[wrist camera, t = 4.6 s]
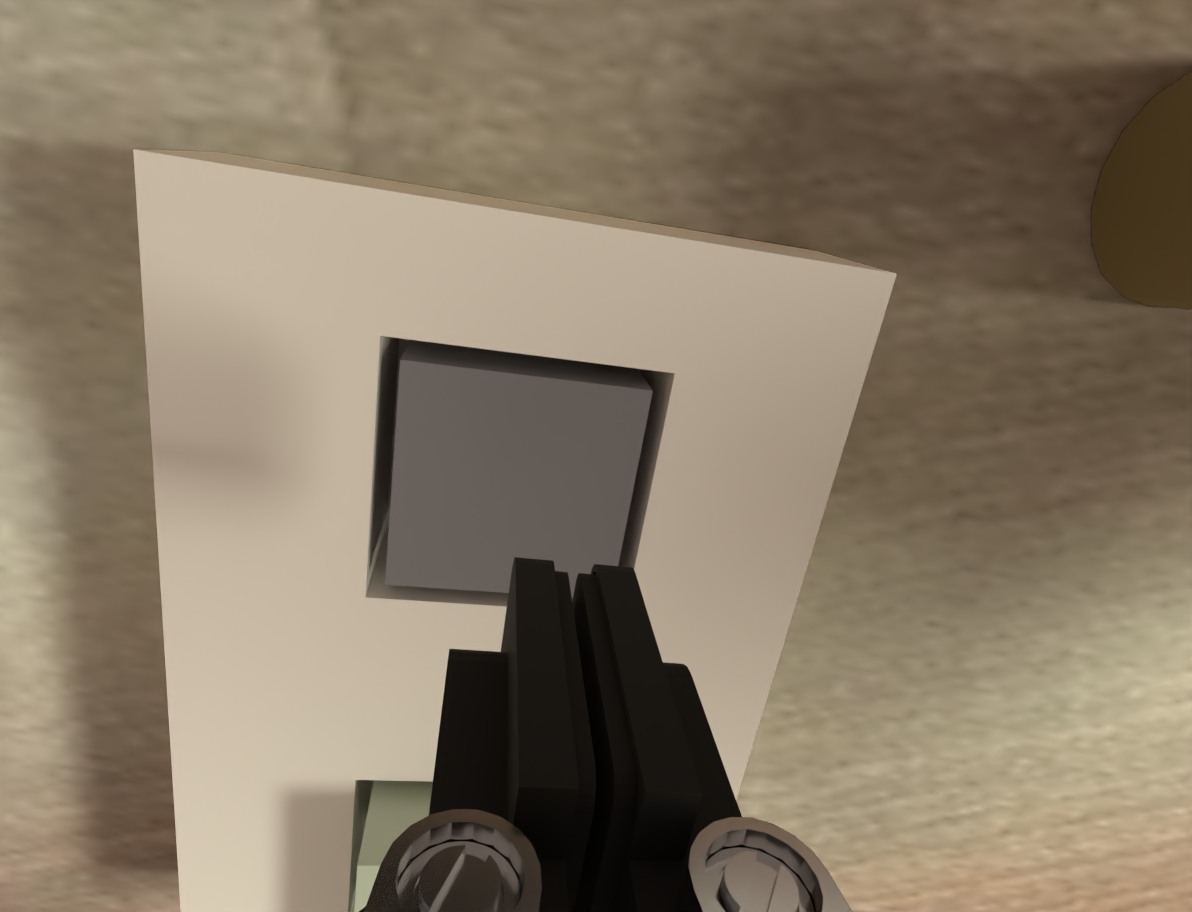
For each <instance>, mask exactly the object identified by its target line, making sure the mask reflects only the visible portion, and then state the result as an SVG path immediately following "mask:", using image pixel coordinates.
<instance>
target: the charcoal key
mask: <svg viewBox="0 0 1192 912" xmlns="http://www.w3.org/2000/svg"><path fill="white" fill-rule="evenodd" d="M652 393H653V390H652V389H651V387H650V386H649V384H648V383H647V381H646V380H645V379H644V377H643V376H642V374H641V373H640V371H639V370H638V369H637V368H629V367H621V366H613V365H606V364H598V363H590V362H582V361H574V360H566V359H559V358H551V357H543V356H535V355H527V354H519V353H512V352H504V351H496V350H488V349H480V348H472V347H465V346H457V345H449V344H441V343H433V342H425V341H418V340H409V342H408V344H407V346H406V348H405V350H404V352H403V355H402V357H401V359H400V367H399V382H398V397H397V412H396V427H395V442H394V457H393V472H392V488H391V503H390V518H389V533H388V548H387V563H386V578H385V585H397V586H411V587H426V588H441V589H455V590H470V591H485V592H499V593H509V587H510V580H511V573H512V566H513V561H514V557H518V558H530V559H541V560H553V561H554V566H555V571H561V572H568V576H569V583H570V590H571V597H573V595H574V590H575V584H576V579H577V576H578V574H579V573H585V574H591V570H592V567H593V565H594V564H599V565H611V566H618V564H619V559H620V554H621V549H622V544H623V539H624V534H625V529H626V524H627V519H628V514H629V509H630V504H631V499H632V494H633V489H634V484H635V479H636V474H637V468H638V463H639V458H640V453H641V448H642V443H643V438H644V433H645V428H646V423H647V418H648V413H649V408H650V403H651V398H652Z"/></svg>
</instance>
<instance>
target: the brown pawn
mask: <svg viewBox="0 0 1192 912" xmlns="http://www.w3.org/2000/svg"><path fill="white" fill-rule="evenodd" d="M1091 225H1092V247H1093V250H1094V253H1095V256H1096V258H1097V261H1098V264H1099V267H1100V269H1101V272H1102V275H1103V276H1104V277H1105V278H1106V279H1107V280H1108V281H1109V282H1110V283H1111V285H1112V286H1113V287H1114V288H1115V289H1116V290H1117V291H1118V292H1119V293H1120V294H1121V295H1122V296H1124V297H1126V298H1129V299H1131V300H1134V301H1136V302H1138V303H1141V304H1143V305H1146V306H1150V307H1165V308H1180V309H1192V72H1191V73H1188V74H1186V75H1185V76H1183V77H1182V78H1180V79H1179V80H1177V81H1176V82H1174V83H1173V84H1171V85H1170V86H1169V87H1167V88H1166V89H1164V90H1163V91H1161V92H1160V93H1158V94H1157V95H1156V96H1154V97H1153V98H1152V99H1151V100H1150V101H1149V102H1148V103H1147V104H1146V105H1145V106H1144V108H1143V109H1142V110H1141V111H1140V112H1139V113H1138V114H1137V116H1136V117H1135V118H1134V119H1133V120H1132V121H1131V122H1130V123H1129V125H1128V126H1127V127H1126V128H1125V129H1124V130H1123V131H1122V133H1121V135H1120V137H1119V139H1118V141H1117V143H1116V144H1115V146H1114V148H1113V150H1112V152H1111V154H1110V155H1109V157H1108V159H1107V161H1106V163H1105V165H1104V166H1103V168H1102V171H1101V174H1100V178H1099V182H1098V186H1097V189H1096V193H1095V197H1094V201H1093V204H1092V208H1091Z"/></svg>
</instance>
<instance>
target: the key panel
mask: <svg viewBox="0 0 1192 912" xmlns="http://www.w3.org/2000/svg"><path fill="white" fill-rule="evenodd" d="M133 154H134V170H135V186H136V202H137V218H138V234H139V251H140V267H141V283H142V299H143V315H144V331H145V347H146V363H147V379H148V395H149V411H150V427H151V443H152V459H153V475H154V491H155V507H156V523H157V539H158V555H159V571H160V587H161V603H162V619H163V635H164V651H165V667H166V683H167V700H168V716H169V732H170V748H171V764H172V780H173V796H174V812H175V828H176V844H177V860H178V876H179V892H180V908H181V912H354V911H355V895H356V878H357V864H358V859H359V854H360V849H361V844H362V839H363V834H364V829H365V823H366V818H367V813H368V808H369V803H370V798H371V793H372V788H373V782H374V780H384V781H431V782H433V776H434V768H435V760H436V752H437V744H438V736H439V728H440V720H441V712H442V703H443V695H444V687H445V679H446V671H447V663H448V655H449V649H463V650H478V651H494V652H501V645H502V638H503V631H504V623H505V616H506V609H507V602H508V594H509V593H499V592H485V591H470V590H455V589H441V588H426V587H411V586H397V585H385V578H386V563H387V548H388V533H389V518H390V503H391V488H392V472H393V457H394V442H395V427H396V412H397V397H398V382H399V367H400V359H401V357H402V355H403V352H404V350H405V348H406V346H407V344H408V342H409V340H418V341H425V342H433V343H441V344H449V345H457V346H465V347H472V348H480V349H488V350H496V351H504V352H512V353H519V354H527V355H535V356H543V357H551V358H559V359H566V360H574V361H582V362H590V363H598V364H606V365H613V366H621V367H629V368H637V369H638V370H639V371H640V373H641V374H642V376H643V377H644V379H645V380H646V381H647V383H648V384H649V386H650V387H651V389H652V390H653V393H652V398H651V403H650V408H649V413H648V418H647V423H646V428H645V433H644V438H643V443H642V448H641V453H640V458H639V463H638V468H637V474H636V479H635V484H634V489H633V494H632V499H631V504H630V509H629V514H628V519H627V524H626V529H625V534H624V539H623V544H622V549H621V554H620V559H619V564H618V566H623V567H632V568H633V569H634V571H635V573H636V577H637V580H638V583H639V586H640V590H641V593H642V596H643V599H644V603H645V606H646V609H647V612H648V616H649V619H650V622H651V626H652V629H653V632H654V635H655V639H656V642H657V645H658V648H659V652H660V655H661V658H662V662H664V663H679V664H684V665H686V666H687V667H688V669H689V671H690V673H691V675H692V678H693V681H694V683H695V686H696V689H697V692H698V695H699V697H700V700H701V703H702V706H703V709H704V712H705V714H706V717H707V720H708V723H709V726H710V729H711V731H712V734H713V737H714V740H715V743H716V745H717V748H718V751H719V754H720V757H721V760H722V762H723V765H724V768H725V771H726V774H727V776H728V779H729V782H730V785H731V788H732V791H733V793H734V796H735V799H737V796H738V793H739V789H740V786H741V783H742V780H743V776H744V773H745V770H746V766H747V763H748V760H749V757H750V753H751V750H752V747H753V744H754V740H755V737H756V734H757V730H758V727H759V724H760V721H761V717H762V714H763V711H764V708H765V704H766V701H767V698H768V694H769V691H770V688H771V685H772V681H773V678H774V675H775V672H776V668H777V665H778V662H779V658H780V655H781V652H782V649H783V645H784V642H785V639H786V636H787V632H788V629H789V626H790V622H791V619H792V616H793V613H794V609H795V606H796V603H797V600H798V596H799V593H800V590H801V586H802V583H803V580H804V577H805V573H806V570H807V567H808V564H809V560H810V557H811V554H812V550H813V547H814V544H815V541H816V537H817V534H818V531H819V528H820V524H821V521H822V518H823V514H824V511H825V508H826V505H827V501H828V498H829V495H830V492H831V488H832V485H833V482H834V478H835V475H836V472H837V469H838V465H839V462H840V459H841V456H842V452H843V449H844V446H845V442H846V439H847V436H848V433H849V429H850V426H851V423H852V420H853V416H854V413H855V410H856V406H857V403H858V400H859V397H860V393H861V390H862V387H863V384H864V380H865V377H866V374H867V370H868V367H869V364H870V361H871V357H872V354H873V351H874V348H875V344H876V341H877V338H878V334H879V331H880V328H881V325H882V321H883V318H884V315H885V312H886V308H887V305H888V302H889V298H890V295H891V292H892V289H893V285H894V282H895V279H896V276H897V273H893V272H890V271H886V270H883V269H879V268H875V267H872V266H868V265H865V264H861V263H858V262H854V261H851V260H847V259H844V258H840V257H836V256H833V255H829V254H826V253H822V252H819V251H815V250H809V249H803V248H797V247H791V246H784V245H778V244H772V243H766V242H760V241H754V240H748V239H742V238H736V237H730V236H724V235H718V234H712V233H706V232H700V231H694V230H688V229H682V228H676V227H670V226H664V225H657V224H651V223H645V222H639V221H633V220H627V219H621V218H615V217H609V216H603V215H597V214H591V213H585V212H579V211H573V210H567V209H561V208H555V207H549V206H543V205H536V204H530V203H524V202H518V201H512V200H506V199H500V198H494V197H488V196H482V195H476V194H470V193H464V192H458V191H452V190H446V189H440V188H434V187H428V186H422V185H416V184H409V183H403V182H397V181H391V180H385V179H379V178H373V177H367V176H361V175H355V174H349V173H343V172H337V171H331V170H325V169H319V168H313V167H307V166H301V165H295V164H289V163H282V162H276V161H270V160H264V159H258V158H252V157H246V156H240V155H234V154H228V153H222V152H206V151H173V150H140V149H133ZM572 601H573V597H572Z"/></svg>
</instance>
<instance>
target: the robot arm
mask: <svg viewBox="0 0 1192 912" xmlns="http://www.w3.org/2000/svg"><path fill="white" fill-rule="evenodd" d="M359 912H852V910H851V908H850V907H849V905H848V903H847V902H846V900H845V898H844V897H843V895H842V893H841V892H840V890H839V888H838V887H837V885H836V883H835V882H834V880H833V878H832V877H831V875H830V873H829V872H828V870H827V869H826V868H825V866H824V865H823V864H822V862H821V861H820V860H819V858H818V857H817V856H816V855H815V853H814V852H813V851H812V850H811V849H810V848H808V847H807V846H806V845H805V844H804V843H803V842H801V841H800V840H799V839H798V838H797V837H796V836H794V835H793V834H791V833H789V832H787V831H785V830H783V829H782V828H780V827H778V826H776V825H774V824H772V823H768V822H765V821H761V820H758V819H755V818H747V817H742V816H741V813H740V810H739V808H738V805H737V802H736V799H735V796H734V793H733V791H732V788H731V785H730V782H729V779H728V776H727V774H726V771H725V768H724V765H723V762H722V760H721V757H720V754H719V751H718V748H717V745H716V743H715V740H714V737H713V734H712V731H711V729H710V726H709V723H708V720H707V717H706V714H705V712H704V709H703V706H702V703H701V700H700V697H699V695H698V692H697V689H696V686H695V683H694V681H693V678H692V675H691V673H690V671H689V669H688V667H687V666H686V665H684V664H679V663H664V662H662V658H661V655H660V652H659V648H658V645H657V642H656V639H655V635H654V632H653V629H652V626H651V622H650V619H649V616H648V612H647V609H646V606H645V603H644V599H643V596H642V593H641V590H640V586H639V583H638V580H637V577H636V573H635V571H634V569H633V568H632V567H623V566H611V565H599V564H594V565H593V567H592V570H591V574H585V573H579V574H578V576H577V579H576V584H575V590H574V595H573V601H572V597H571V590H570V583H569V576H568V572H561V571H555V566H554V561H553V560H541V559H530V558H518V557H514V561H513V566H512V573H511V580H510V587H509V594H508V602H507V609H506V616H505V623H504V631H503V638H502V645H501V652H494V651H478V650H463V649H449V655H448V663H447V671H446V679H445V687H444V695H443V703H442V712H441V720H440V728H439V736H438V744H437V752H436V760H435V768H434V776H433V784H432V792H431V801H430V809H429V816H427V817H425V818H423V819H421V820H420V821H418V822H416V823H414V824H412V825H410V826H409V827H408V828H407V829H406V830H405V831H404V832H403V833H402V834H401V835H400V836H399V837H398V838H397V839H396V840H394V841H393V843H392V844H391V846H390V848H389V850H388V852H387V853H386V855H385V857H384V859H383V861H382V863H381V865H380V868H379V871H378V873H377V876H376V879H375V882H374V885H373V887H372V890H371V893H370V896H369V899H368V901H367V904H366V906H365V907H364V908H363V909H362V910H360V911H359Z"/></svg>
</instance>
